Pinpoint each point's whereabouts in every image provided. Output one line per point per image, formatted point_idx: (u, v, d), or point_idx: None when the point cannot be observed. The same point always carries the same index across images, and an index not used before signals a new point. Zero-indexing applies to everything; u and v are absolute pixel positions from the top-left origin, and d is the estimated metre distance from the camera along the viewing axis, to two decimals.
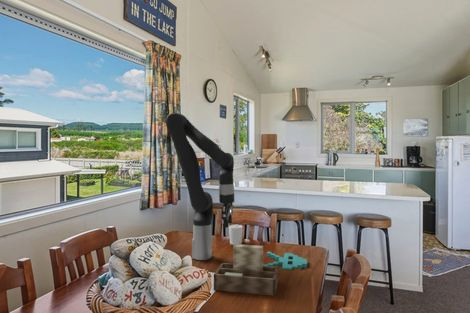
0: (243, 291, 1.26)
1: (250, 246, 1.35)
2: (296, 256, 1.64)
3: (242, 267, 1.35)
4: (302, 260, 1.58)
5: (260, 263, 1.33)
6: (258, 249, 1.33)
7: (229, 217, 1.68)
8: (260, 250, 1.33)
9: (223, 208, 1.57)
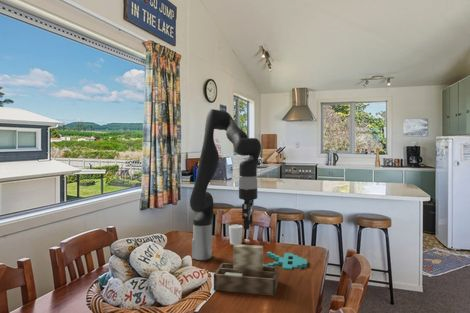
0: (243, 291, 1.26)
1: (250, 246, 1.35)
2: (296, 256, 1.64)
3: (242, 267, 1.35)
4: (302, 260, 1.58)
5: (260, 263, 1.33)
6: (258, 249, 1.33)
7: (249, 217, 1.39)
8: (260, 250, 1.33)
9: (244, 205, 1.28)
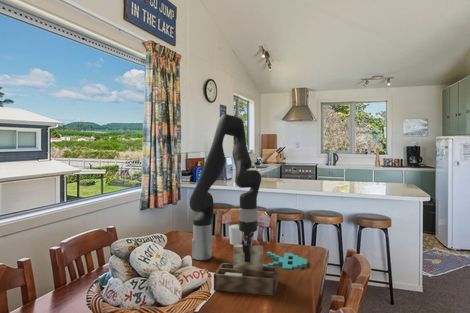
0: (243, 291, 1.26)
1: None
2: (296, 256, 1.64)
3: (242, 267, 1.35)
4: (302, 260, 1.58)
5: (260, 263, 1.33)
6: (258, 249, 1.33)
7: None
8: (260, 250, 1.33)
9: (244, 243, 1.29)
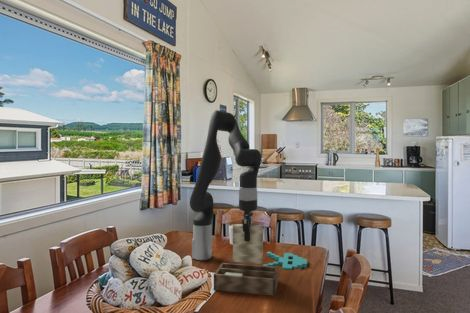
0: (243, 291, 1.26)
1: None
2: (296, 256, 1.64)
3: (241, 246, 1.34)
4: (302, 260, 1.58)
5: (260, 242, 1.33)
6: (258, 228, 1.32)
7: None
8: (260, 229, 1.32)
9: (244, 221, 1.28)
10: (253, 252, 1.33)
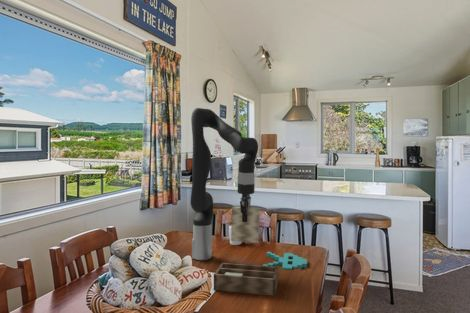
0: (243, 291, 1.26)
1: None
2: (296, 256, 1.64)
3: (239, 226, 1.46)
4: (302, 260, 1.58)
5: (256, 223, 1.44)
6: (255, 210, 1.44)
7: None
8: (256, 211, 1.44)
9: (242, 203, 1.40)
10: (250, 232, 1.45)
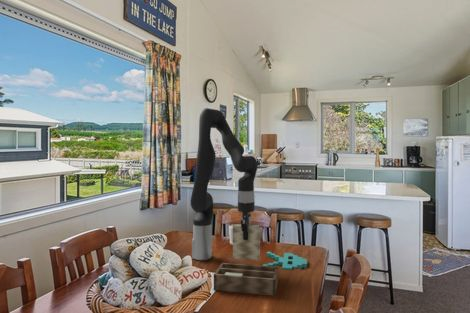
0: (243, 291, 1.26)
1: None
2: (296, 256, 1.64)
3: (240, 244, 1.48)
4: (302, 260, 1.58)
5: (257, 240, 1.46)
6: (255, 228, 1.46)
7: None
8: (257, 229, 1.46)
9: (243, 222, 1.42)
10: (251, 249, 1.47)
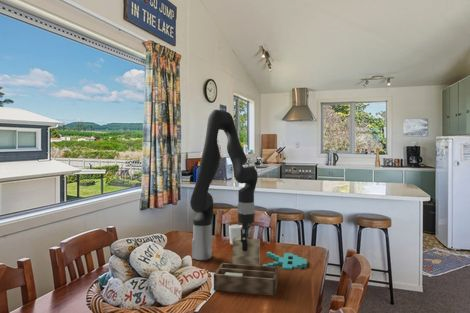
0: (243, 291, 1.26)
1: (248, 239, 1.48)
2: (296, 256, 1.64)
3: (240, 258, 1.48)
4: (302, 260, 1.58)
5: (257, 254, 1.46)
6: (255, 242, 1.46)
7: None
8: (257, 243, 1.46)
9: (243, 231, 1.42)
10: (251, 263, 1.47)
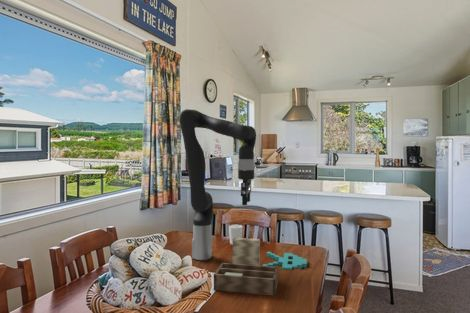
0: (243, 291, 1.26)
1: (248, 239, 1.48)
2: (296, 256, 1.64)
3: (240, 258, 1.48)
4: (302, 260, 1.58)
5: (257, 254, 1.46)
6: (255, 242, 1.46)
7: (247, 195, 1.57)
8: (257, 243, 1.46)
9: (243, 184, 1.47)
10: (251, 263, 1.47)
